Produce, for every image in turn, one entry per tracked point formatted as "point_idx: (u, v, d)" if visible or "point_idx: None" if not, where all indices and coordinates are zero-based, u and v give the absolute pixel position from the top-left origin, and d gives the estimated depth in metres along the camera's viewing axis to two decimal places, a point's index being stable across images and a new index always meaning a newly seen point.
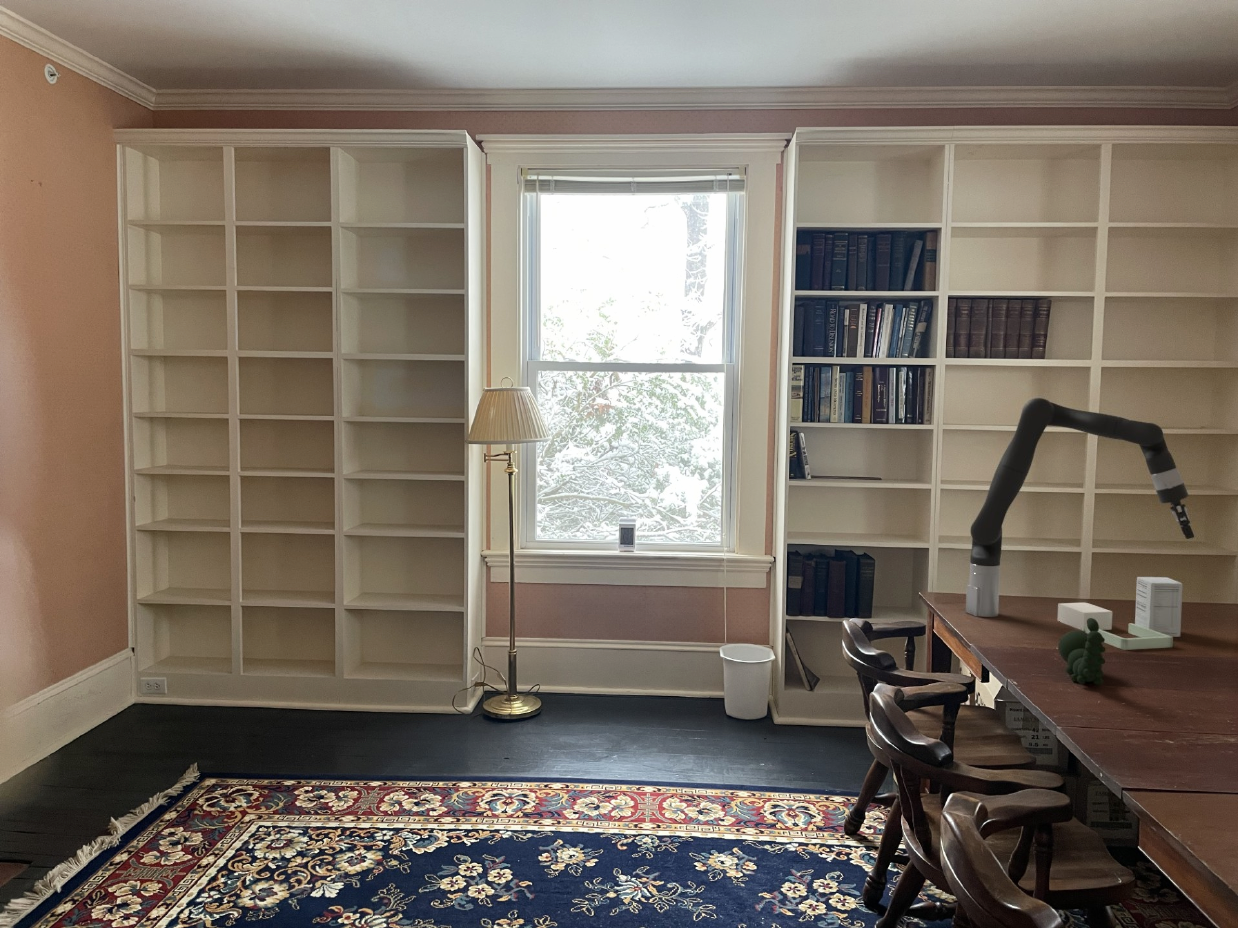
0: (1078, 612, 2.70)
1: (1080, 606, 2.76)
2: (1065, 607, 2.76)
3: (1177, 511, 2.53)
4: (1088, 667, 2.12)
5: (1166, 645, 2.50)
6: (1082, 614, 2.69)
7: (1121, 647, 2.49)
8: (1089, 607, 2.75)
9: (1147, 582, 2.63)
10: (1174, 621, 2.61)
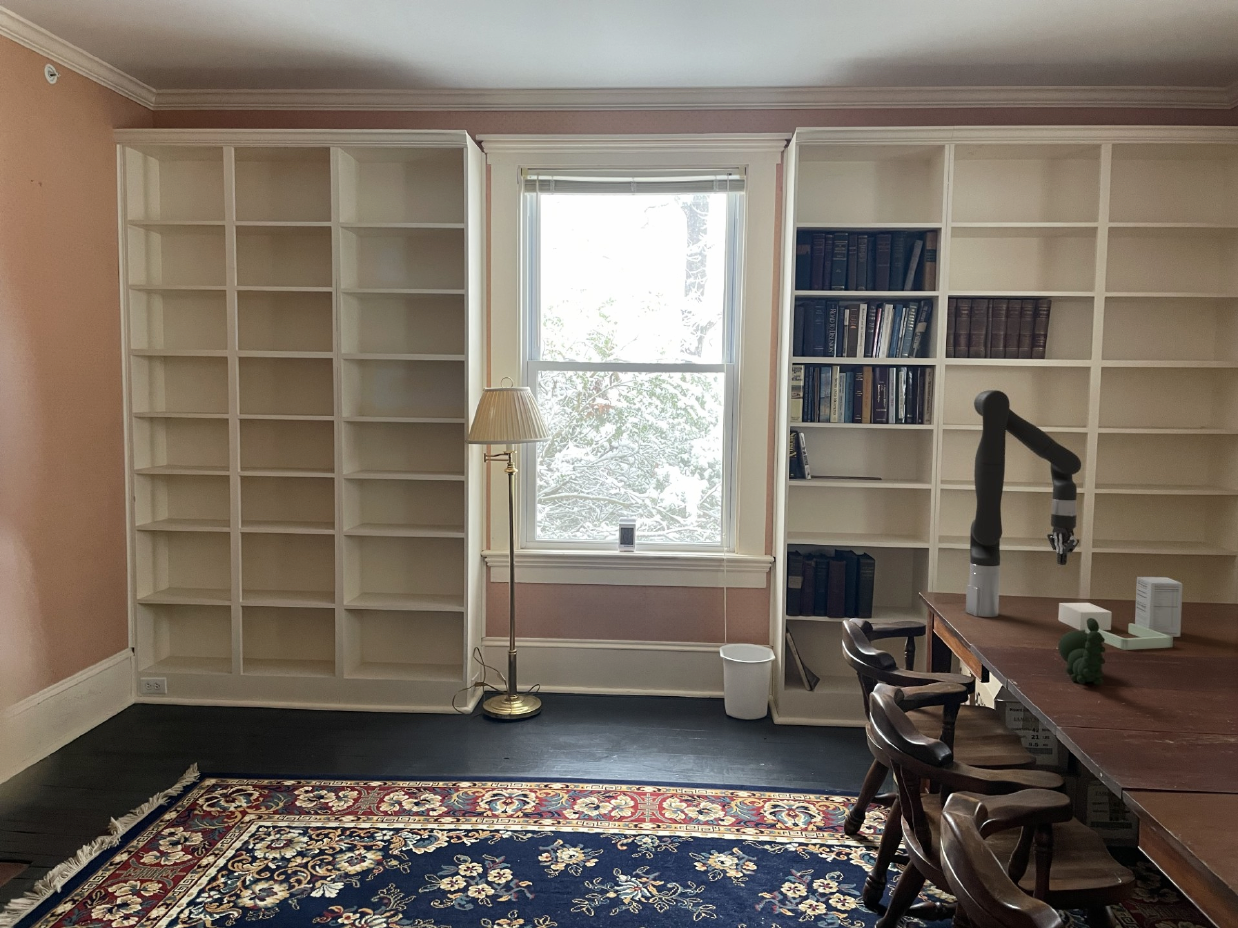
0: (1076, 612, 2.71)
1: (1080, 606, 2.76)
2: (1065, 607, 2.77)
3: (1072, 544, 2.79)
4: (1088, 667, 2.12)
5: (1166, 645, 2.50)
6: (1079, 613, 2.69)
7: (1121, 647, 2.49)
8: (1089, 607, 2.74)
9: (1147, 582, 2.63)
10: (1174, 621, 2.61)
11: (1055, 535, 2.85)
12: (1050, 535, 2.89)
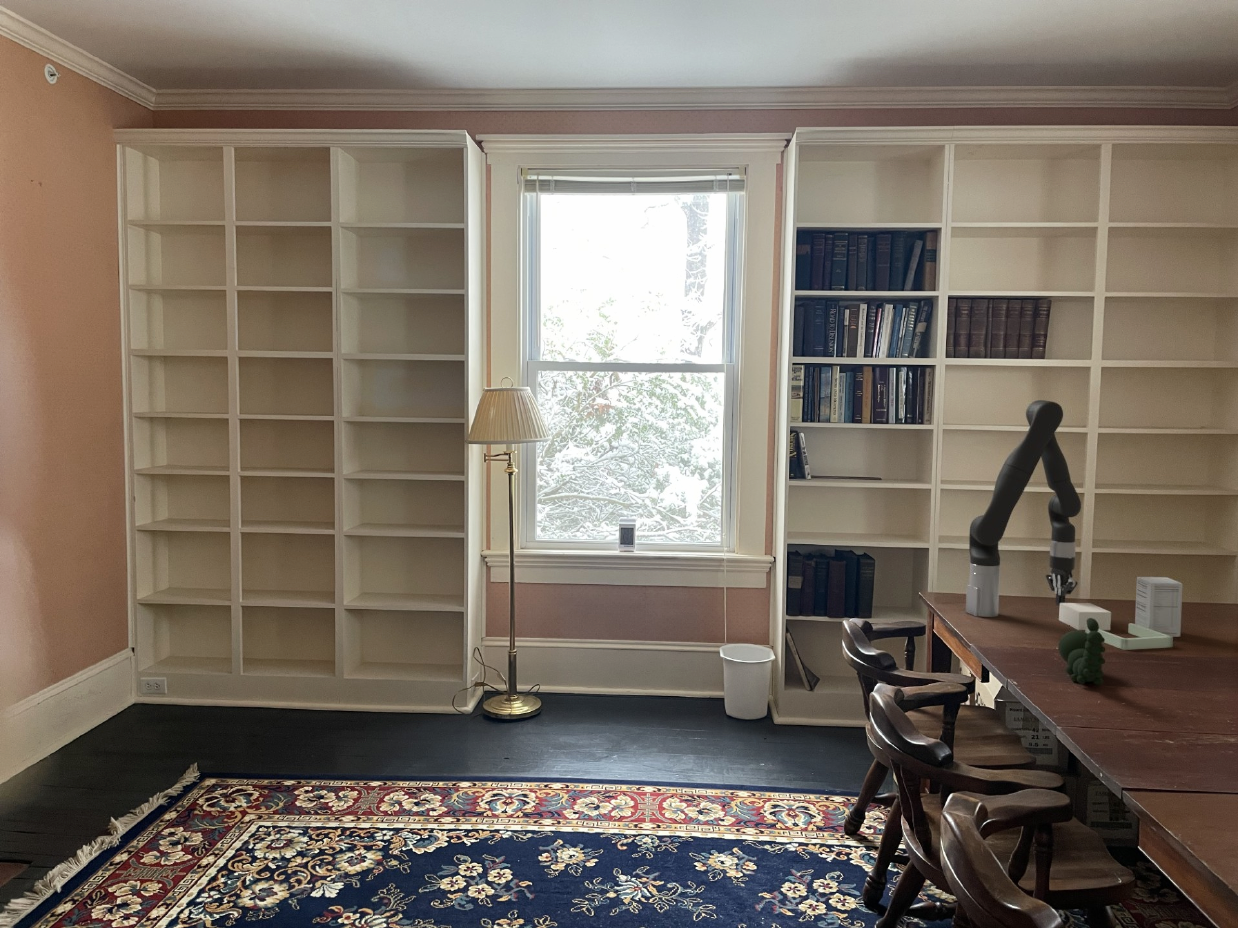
0: (1074, 611, 2.71)
1: (1081, 606, 2.76)
2: (1065, 606, 2.77)
3: (1070, 586, 2.80)
4: (1088, 667, 2.12)
5: (1166, 645, 2.50)
6: (1077, 613, 2.69)
7: (1121, 647, 2.49)
8: (1089, 607, 2.74)
9: (1147, 582, 2.63)
10: (1174, 621, 2.61)
11: (1054, 576, 2.86)
12: (1049, 576, 2.90)
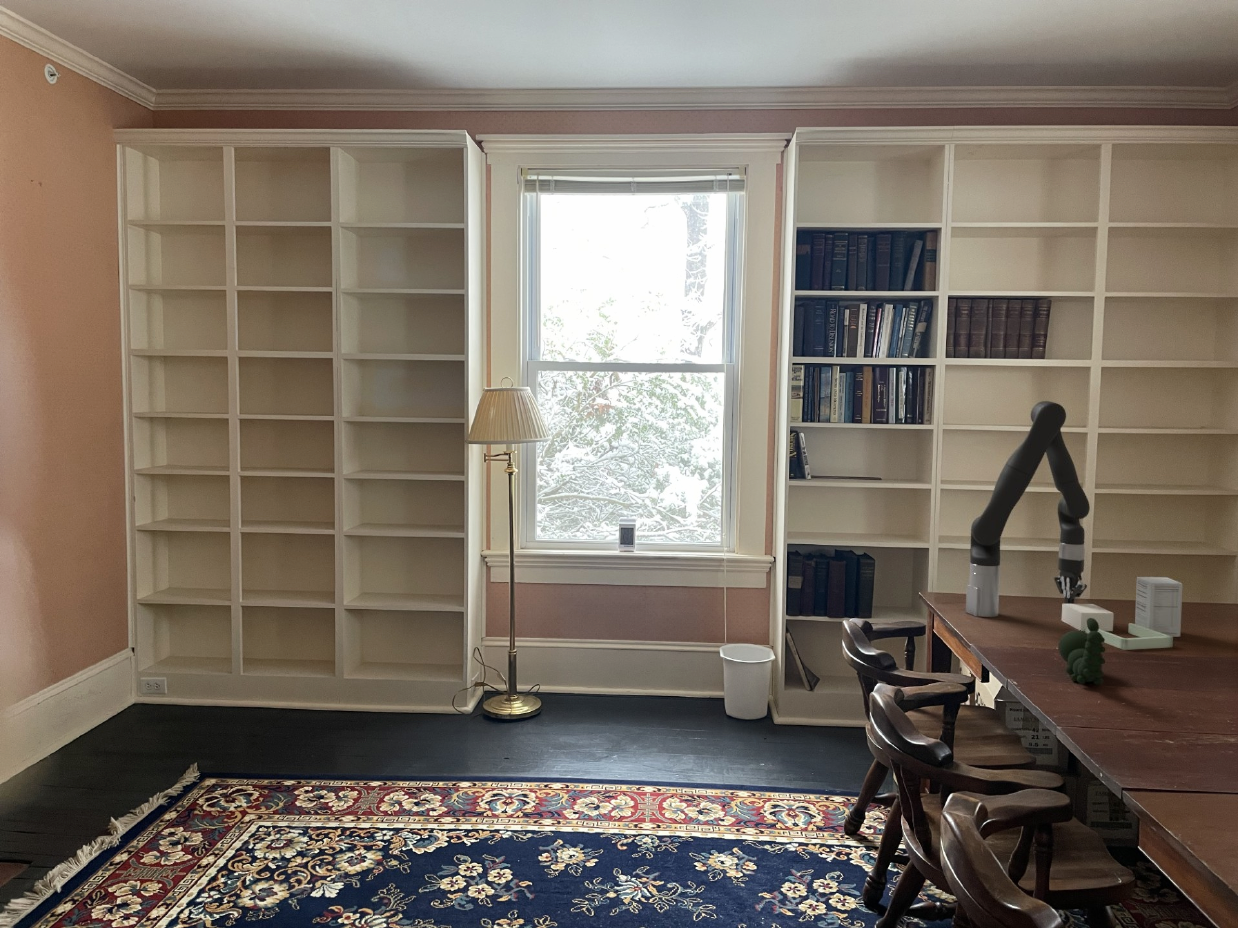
0: (1077, 612, 2.70)
1: (1083, 607, 2.75)
2: (1067, 607, 2.76)
3: (1080, 589, 2.76)
4: (1088, 667, 2.12)
5: (1166, 645, 2.50)
6: (1079, 614, 2.69)
7: (1121, 647, 2.49)
8: (1092, 608, 2.73)
9: (1147, 582, 2.63)
10: (1174, 621, 2.61)
11: (1062, 579, 2.82)
12: (1057, 578, 2.86)
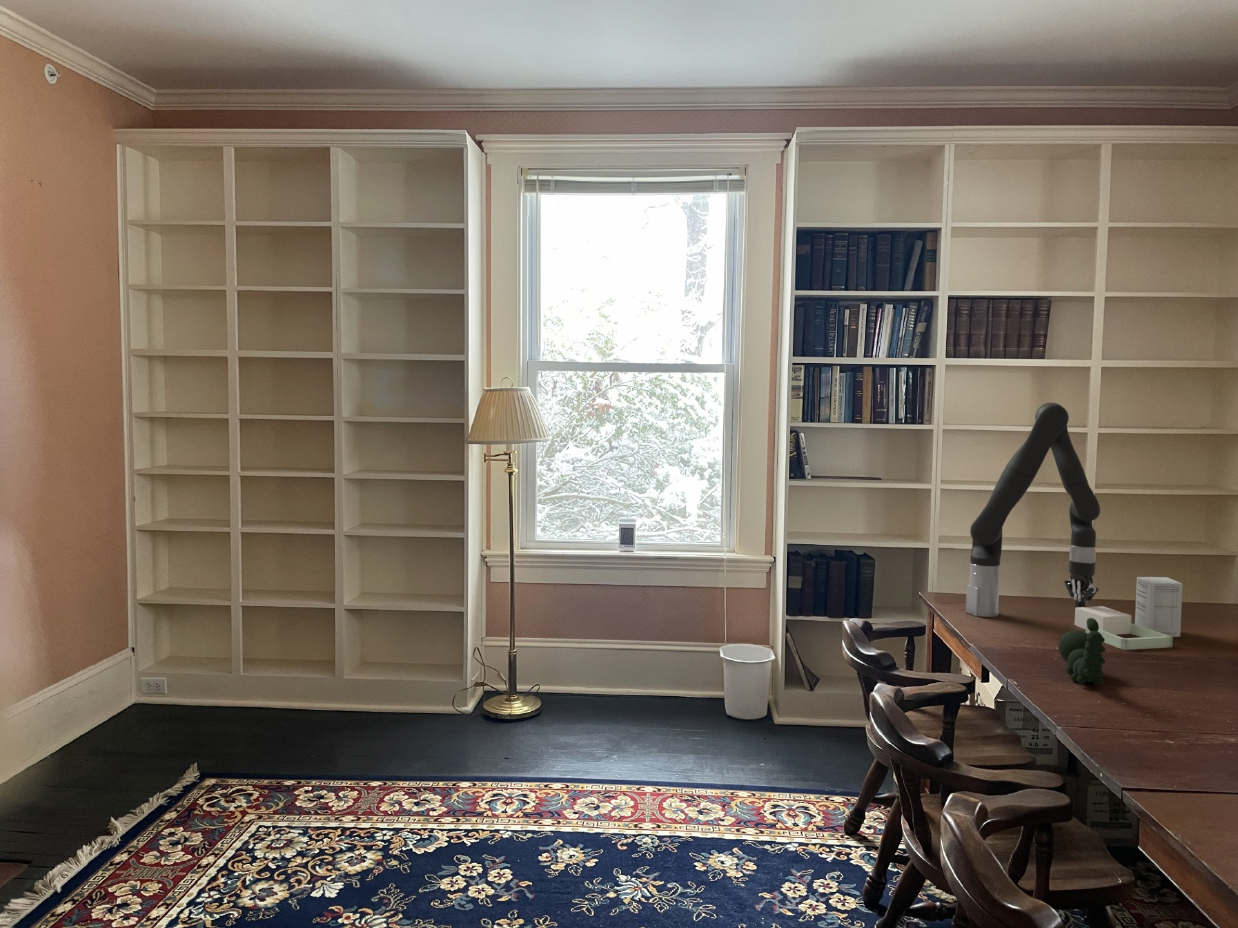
0: (1097, 616, 2.65)
1: (1098, 610, 2.71)
2: (1083, 611, 2.71)
3: (1091, 592, 2.71)
4: (1088, 667, 2.12)
5: (1166, 645, 2.50)
6: (1101, 618, 2.63)
7: (1121, 647, 2.49)
8: (1107, 611, 2.69)
9: (1147, 582, 2.63)
10: (1174, 621, 2.61)
11: (1073, 582, 2.77)
12: (1067, 581, 2.81)
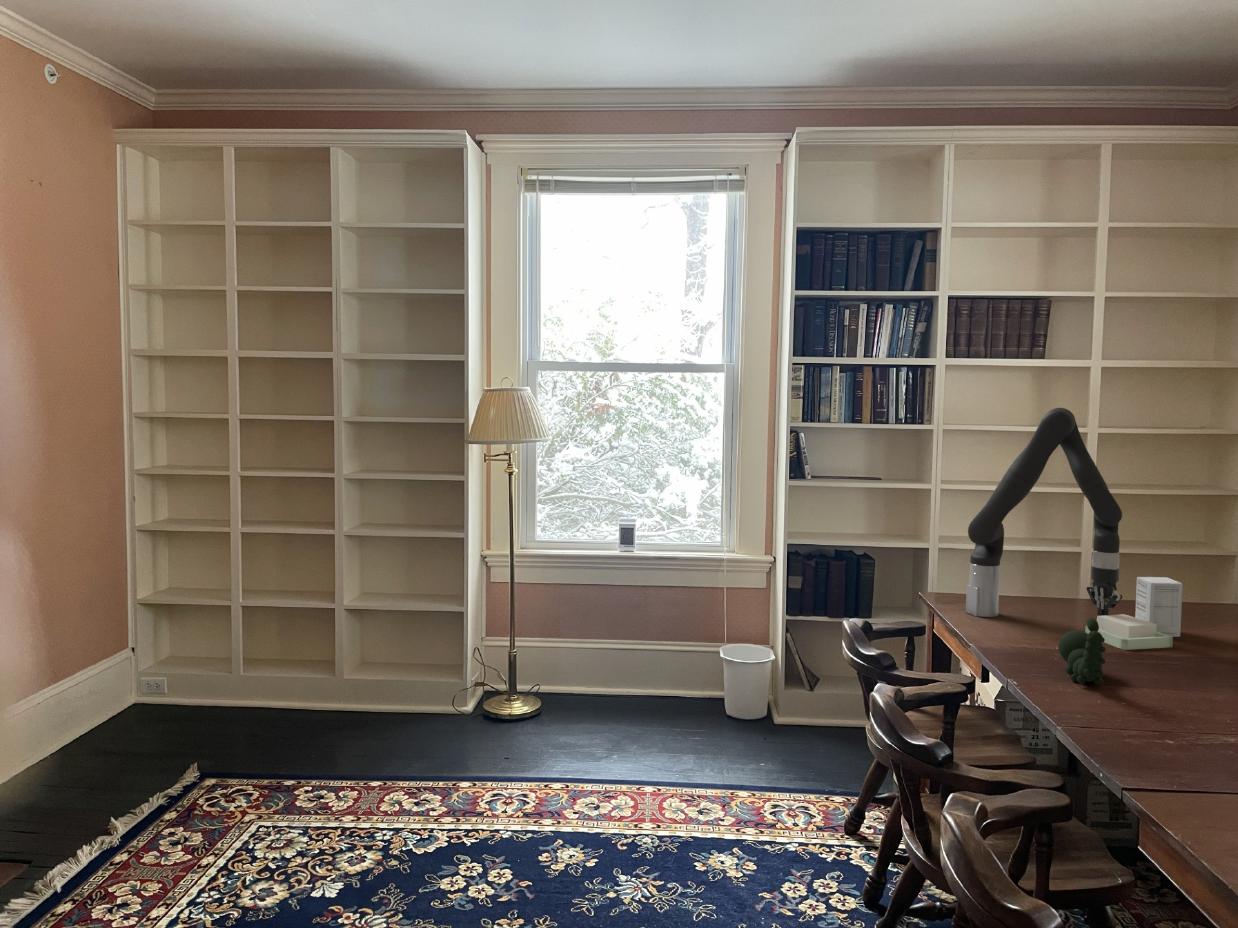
0: (1122, 625, 2.55)
1: (1121, 618, 2.61)
2: (1106, 620, 2.61)
3: (1115, 600, 2.61)
4: (1088, 667, 2.12)
5: (1166, 645, 2.50)
6: (1126, 627, 2.53)
7: (1121, 647, 2.49)
8: (1131, 619, 2.60)
9: (1147, 582, 2.63)
10: (1174, 621, 2.61)
11: (1096, 589, 2.67)
12: (1090, 588, 2.71)
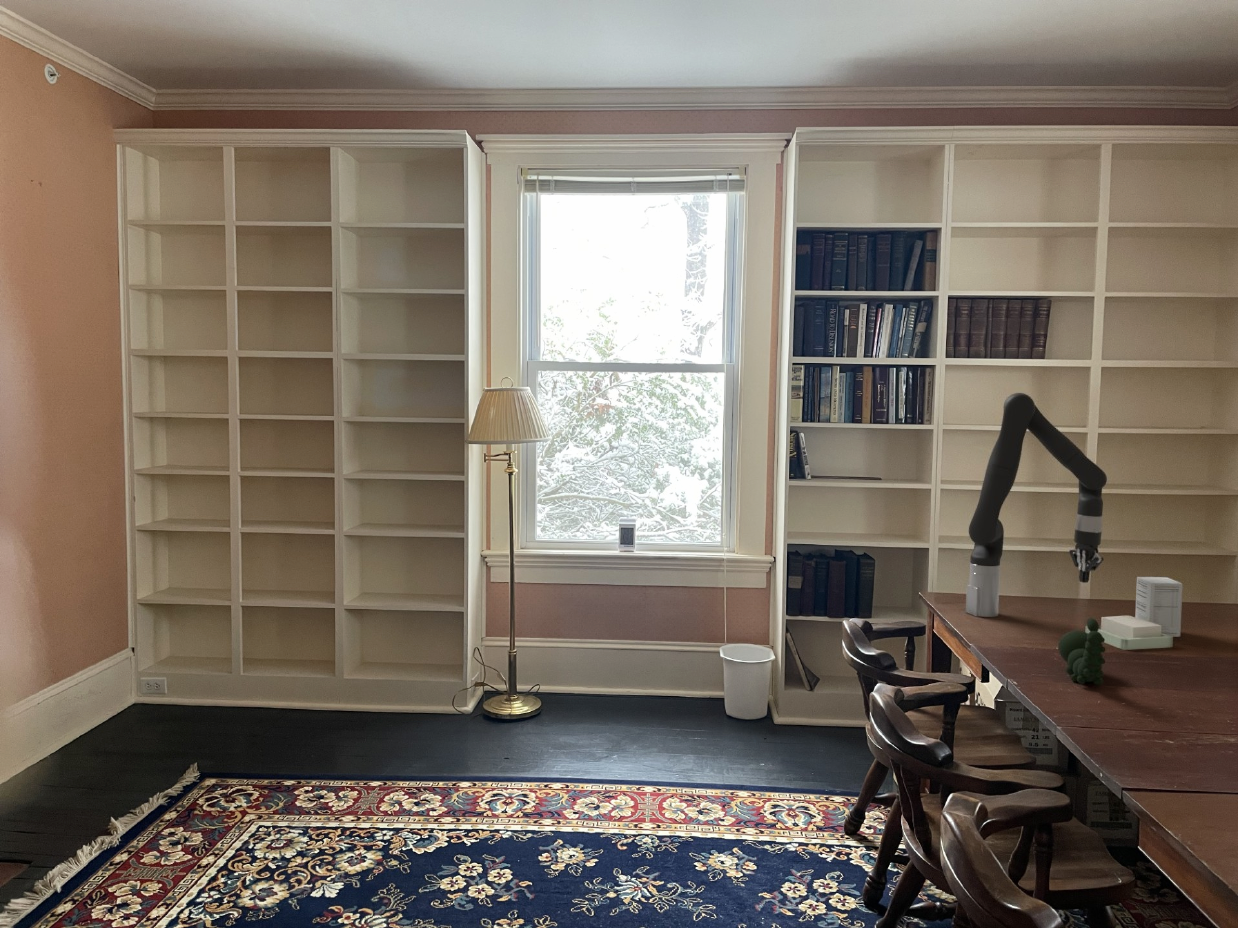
0: (1126, 627, 2.53)
1: (1125, 620, 2.59)
2: (1110, 621, 2.59)
3: (1096, 562, 2.69)
4: (1088, 667, 2.12)
5: (1166, 645, 2.50)
6: (1130, 629, 2.52)
7: (1121, 647, 2.49)
8: (1135, 621, 2.58)
9: (1147, 582, 2.63)
10: (1174, 621, 2.61)
11: (1078, 551, 2.74)
12: (1072, 551, 2.78)
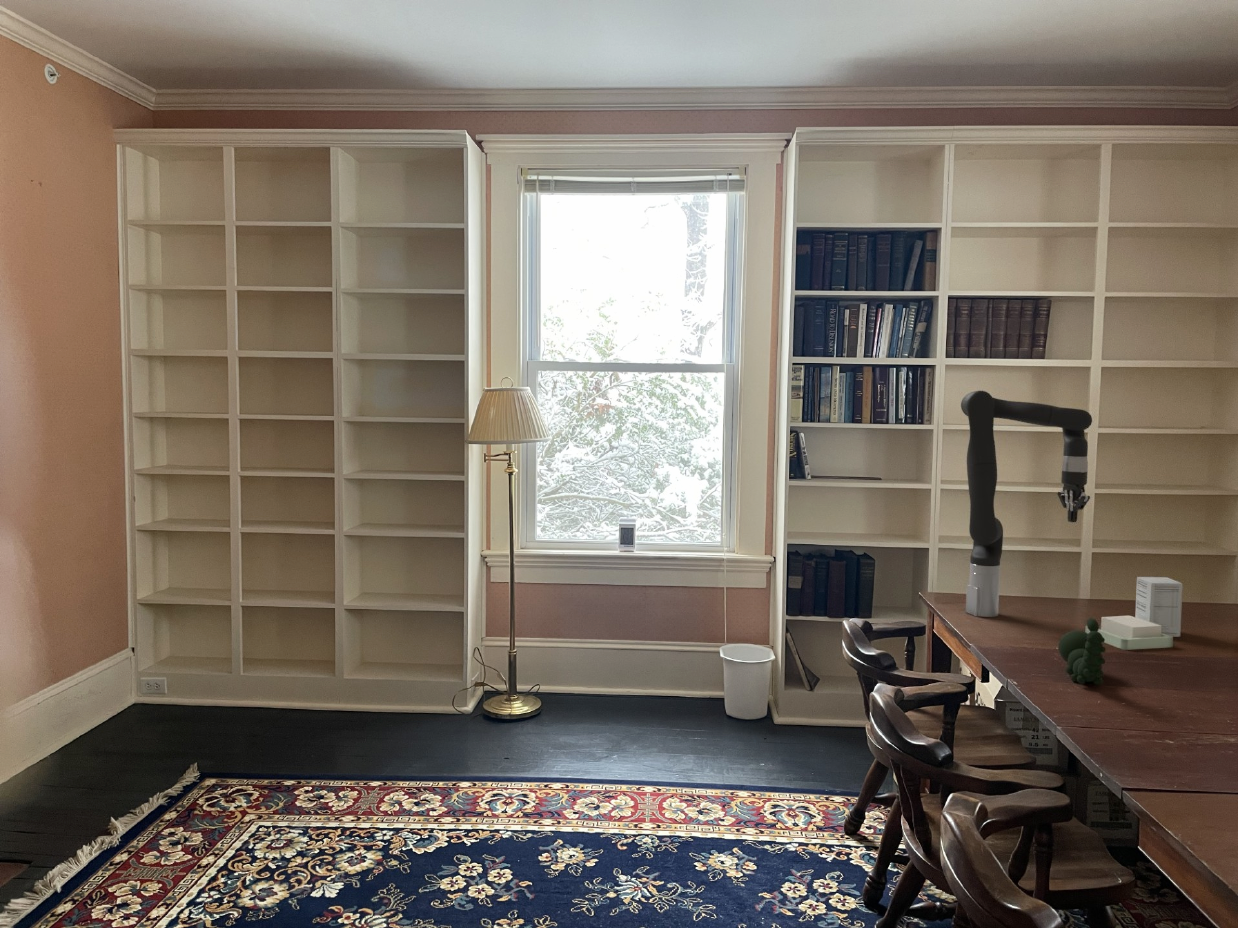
0: (1125, 626, 2.53)
1: (1125, 620, 2.59)
2: (1110, 621, 2.59)
3: (1083, 501, 2.77)
4: (1088, 667, 2.12)
5: (1166, 645, 2.50)
6: (1130, 628, 2.52)
7: (1121, 647, 2.49)
8: (1135, 621, 2.58)
9: (1147, 582, 2.63)
10: (1174, 621, 2.61)
11: (1066, 492, 2.83)
12: (1060, 493, 2.87)
